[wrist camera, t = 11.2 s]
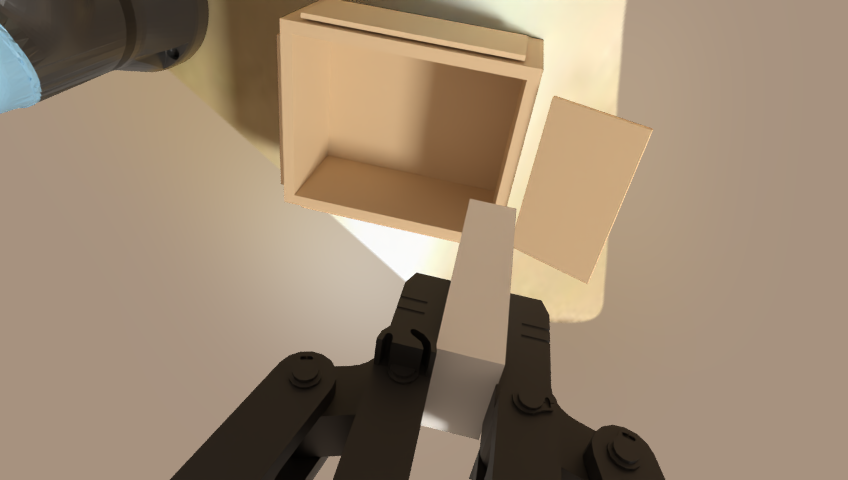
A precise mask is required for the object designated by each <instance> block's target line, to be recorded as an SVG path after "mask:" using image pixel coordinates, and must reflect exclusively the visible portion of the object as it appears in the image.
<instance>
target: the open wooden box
mask: <svg viewBox="0 0 848 480" xmlns="http://www.w3.org/2000/svg"><path fill="white" fill-rule="evenodd" d="M277 67H278V100H279V132H280V164H281V184H283V185H284V196H285V197H284V199H285V202H288V203H292V204H297V205H301V206H302V207H303V208H307V209H312V210H316V211H321V212H325V213H330V214H334V215H338V216H343V217H347V218H352V219H356V220H361V221H365V222H369V223H374V224H378V225H383V226H387V227H392V228H396V229H401V230H405V231H409V232H414V233H418V234H423V235H427V236H432V237H436V238H440V239H445V240H449V241H454V242H458V243H460V240H461V235H462V231H463V227H464V222H465V218H466V213H467V209H468V205H469V200H470V199H474V200H478V201H483V202H487V203H492V204H497V205H501V206H506V207H507V203H508V199H509V195H510V192H511V188H512V184H513V181H514V177H515V173H516V169H517V166H518V162H519V158H520V155H521V151H522V147H523V144H524V140H525V136H526V132H527V129H528V125H529V121H530V118H531V114H532V110H533V106H534V103H535V99H536V95H537V92H538V88H539V84H540V80H541V77H542V73H543V40H542V39H537V38H531V37H528V35H522V34H517V33H512V32H506V31H501V30H496V29H491V28H485V27H480V26H475V25H469V24H464V23H459V22H454V21H448V20H443V19H438V18H432V17H427V16H422V15H417V14H411V13H406V12H401V11H395V10H390V9H385V8H379V7H374V6H369V5H364V4H358V3H353V2H348V1H342V0H319V1H317V2H315V3H313V4H310V5H308V6H306V7H304V8H302V9H299V10H297V11H295V12H293V13H290V14H288V15H286V16H284V17H282V18H280V33H279V34H277Z"/></svg>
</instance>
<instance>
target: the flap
mask: <svg viewBox="0 0 848 480" xmlns="http://www.w3.org/2000/svg"><path fill="white" fill-rule="evenodd" d="M652 131H653V129H652V128H649V127H646V126H643V125H640V124H637V123H634V122H631V121H628V120H625V119H622V118H619V117H616V116H613V115H611V114H608V113H605V112H602V111H599V110H596V109H593V108H590V107H587V106H584V105H581V104H578V103H575V102H572V101H569V100H566V99H563V98H560V97H557V96H554V97H553V98H552V102H551V105H550V109H549V112H548V116H547V119H546V123H545V126H544V129H543V133H542V136H541V140H540V143H539V147H538V150H537V154H536V157H535V161H534V164H533V168H532V171H531V174H530V178H529V181H528V185H527V188H526V192H525V195H524V199H523V202H522V206H521V209H520V213H519V216H518V219H517V223H516V226H515V234H514V248H515V249H517V250H519V251H521V252H523V253H525V254H527V255H529V256H531V257H533V258H535V259H537V260H539V261H541V262H543V263H545V264H547V265H549V266H551V267H554V268H556V269H558V270H560V271H562V272H564V273H566V274H568V275H570V276H572V277H574V278H576V279H578V280H580V281H582V282H584V283H586V284H588V282H589V280H590V278H591V276H592V273H593V271H594V268H595V266H596V264H597V261H598V259H599V257H600V254H601V252H602V250H603V247H604V245H605V242H606V240H607V238H608V235H609V233H610V231H611V228H612V226H613V223H614V221H615V219H616V216H617V214H618V212H619V209H620V207H621V204H622V202H623V200H624V197H625V195H626V192H627V190H628V188H629V185H630V183H631V181H632V178H633V176H634V174H635V171H636V169H637V166H638V164H639V162H640V159H641V157H642V155H643V152H644V150H645V147H646V145H647V143H648V140H649V138H650V136H651V133H652Z"/></svg>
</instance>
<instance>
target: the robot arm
mask: <svg viewBox="0 0 848 480" xmlns="http://www.w3.org/2000/svg"><path fill="white" fill-rule="evenodd" d="M207 25H208V0H0V114H1V113H4V112H7V111H10V110H13V109H17V108H27V107H30V106H32V105H35V103H37V102H40V101H42V100H44V99H47V98H49V97H52V96H54V95H56V94H59V93H61V92H63V91H65V90H68V89H70V88H73V87H75V86H77V85H80V84H82V83H84V82H87V81H89V80H91V79H94V78H96V77H98V76H101V75H103V74H105V73H108V72H110V71H113V70H124V71H140V72H157V71H162V70H166V69H169V68H172V67H174V66H176V65H178V64H181V63H183V62H185V61H186V60H188V59H189V58H190V57H192V56H193V55H194V54H195V53H196V51H197V50H198V49H199V47H200V46H201V44H202V42H203V40H204V37H205V34H206V30H207ZM515 220H516V209H515V208H510V207H506V206H501V205H497V204H492V203H487V202H483V201H478V200H474V199H470V200H469V205H468V209H467V213H466V218H465V222H464V227H463V231H462V235H461V240H460V244H459V248H458V253H457V257H456V262H455V266H454V270H453V275H452V279H451V281H450V280H446V279H441V278H437V277H433V276H428V275H424V274H420V273H416V274H414V275H413V276H412V277H411V278H410V279H409V280H408V281H406V282H405V285H404V288H403V291H402V294H401V297H400V299H399V302H398V305H397V309H396V311H395V314H394V317H393V320H392V322H391V325H390V326H389V327H387V328H386V329H384V330H382V331H381V333H380V334H379V336H378V337H377V340H376V348H375V356H374V359H372V360H370V361H369V362H366V363H363V364H361V365H354V366H336V367H335V366H334V365H333V363H332V361H331V360H330V359H328V358H327V357H325V356H324V355H322V354H319V353H315V352H298V353H296V354H292V355H289V356H288V357H287V358H285V359H284V360H282V361H281V362H280V363H279V364H278V365H277V366H276V367H275V368H274V369H273V370H272V371H271V372H270V373H269V375H268V376H267V377H266V378H265V379H264V380H263V381H262V382H261V383H260V384H259V385H258V386H257V387H256V388H255V389H254V390H253V392H252V393H251V394H250V395H249V396H248V397H247V398H246V399H245V400H244V401H243V402H242V403H241V404H240V406H239V407H238V408H237V409H236V410H235V411H234V412H233V413H232V414H231V415H230V416H229V417H228V418H227V419H226V420H225V422H224V423H223V424H222V425H221V426H220V427H219V428H218V429H217V430H216V431H215V432H214V433H213V434H212V435H211V437H209V439H208V440H207V441H206V442H205V443H204V444H203V445H202V446H201V447H200V448H199V449H198V450H197V451H196V453H194V455H193V456H192V457H191V458H190V459H189V460H188V461H187V462H186V463H185V464H184V465H183V466H182V467H181V468H180V470H179V471H178V472H177V473H176V474H175V475H174V476H173V477H172V478H171V479H170V480H313V479H314V477H315V476H316V474H317V473H318V471H319V470H320V468H321V467H322V466H323V464H324V463H325V461H326V460H327V458H328V456H341V458H340V461H339V464H338V467H337V469H336V473H335V475H334V478H333V480H409V476H410V471H411V466H412V462H413V457H414V453H415V448H416V444H417V439H418V435H419V430H420V426H421V425H422V426H426V427H430V428H435V429H438V430H442V431H446V432H450V433H454V434H458V435H462V436H466V437H470V438H474V439H478V440H479V437H480V434H481V443H480V450H479V452H478V455H477V458H476V460H475V463H474V466H473V469H472V472H471V474H470V477H469V479H472V480H665V478H664V476H663V474H662V471H661V469H660V467H659V465H658V462H657V460H656V458H655V455H654V454H653V452H652V451H651V449H650V447H649V446H648V444H647V443H646V442H645V441H644V440H643V439H642V438H640V437H639V436H638V435H637V434H636V433H634V432H632V431H630V430H628V429H626V428H624V427H619V426H615V425H609V426H603V427H601V428H600V429H598V430H597V431H594V430H592V429H591V428H589V427H587V426H585V425H583V424H582V423H579V422H578V421H576V420H575V419H573V418H572V417H570V416H568V414H566V413H565V412H564V411H563V410H562V409H561V408H560V406H559V405H558V404H557V401H556V398H555V397H554V395H553V394H552V389H551V370H550V344H549V342H550V333H549V330H550V326H549V314H548V312H547V310H546V308H545V306H544V304H543V303H542V301H541V300H537V299H532V298H528V297H524V296H519V295H515V294H511V293H510V289H511V275H512V261H513V248H514V234H515ZM481 432H482V433H481Z"/></svg>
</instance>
